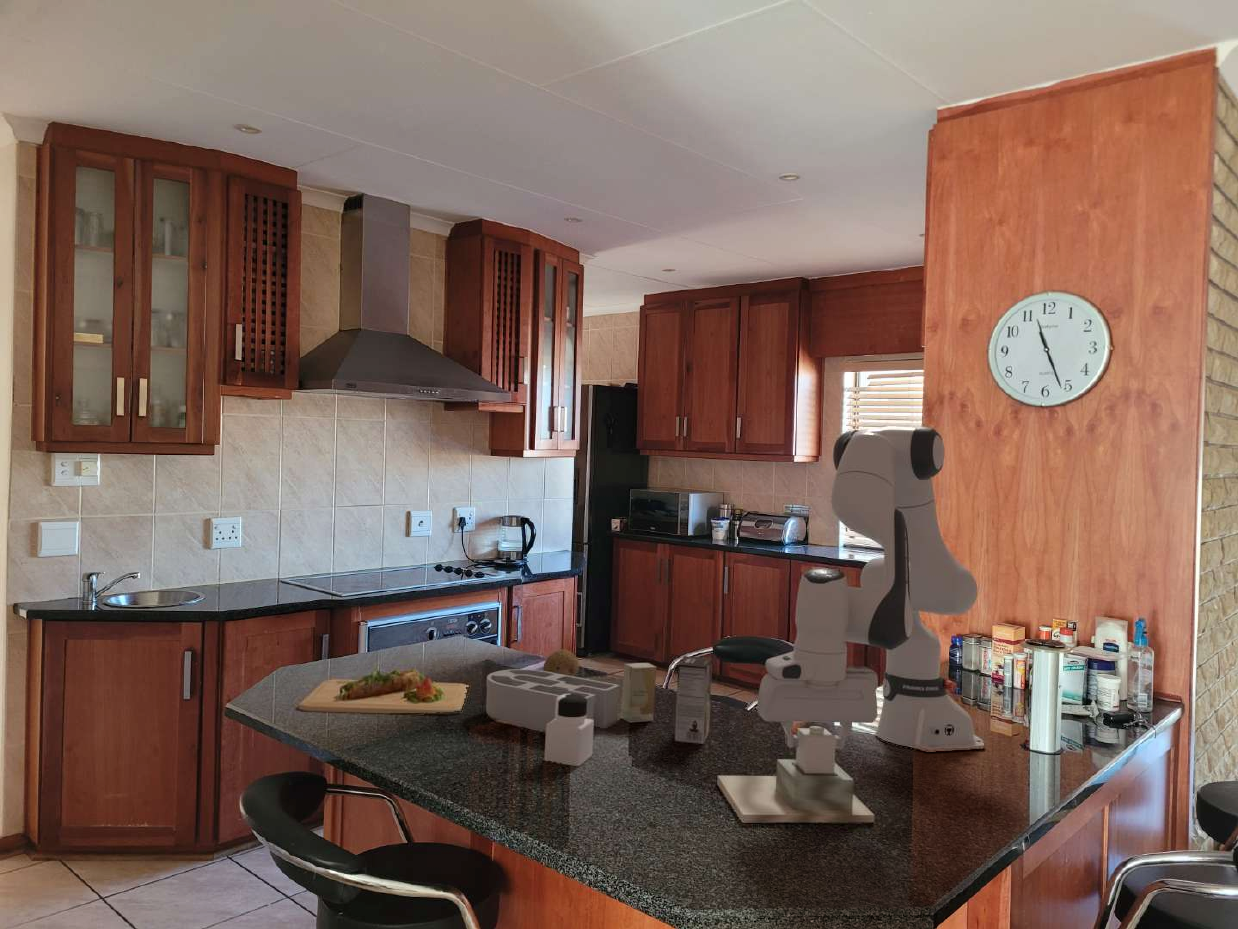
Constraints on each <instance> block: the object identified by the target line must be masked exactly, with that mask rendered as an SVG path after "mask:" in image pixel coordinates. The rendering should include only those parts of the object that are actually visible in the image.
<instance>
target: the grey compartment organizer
mask: <svg viewBox="0 0 1238 929" xmlns="http://www.w3.org/2000/svg"><path fill="white" fill-rule="evenodd" d="M620 691H621V684H617V683H615V684H614V683H610V682H606V681H604V682H603V681H599V680H595V679H589V678H583V677H578V676H576V677H574V676H568V675H563V674H557V673H552V672H547V671H543V670H539V669H530V668H529V669H527V668H525V669H524V668H518V669H517V668H516V669H514V668H513V669H512V668H511V669H503V670H497V671H494V672H490V673H489V674H488V675H486V704H485V710H486V715H487V714H488V715H489V716H490V717H492V718H496V719H500V720H502V721H505V722H509V723H511V724H517V725H520V726H523V727H526V728H530V729H533V730H540V731H545V732H546V725H547V723H549V722H551V721H552V720H554V719H555V703H556V698H557V697H558V696H560V695H563V694H578V695H581V696H583V697H585V698H586V699H587V715H586V719H592V720H594V726H596V727H595V728H597V727H600V728H599V729H602V728H603V729H602V730H605V729H607V728H609V727H611V726H613V724H614V725H616V724H617V721H618V713H619V712H618V710H619V694H620ZM610 725H611V726H610ZM608 726H609V727H608ZM604 728H605V729H604Z"/></svg>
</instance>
